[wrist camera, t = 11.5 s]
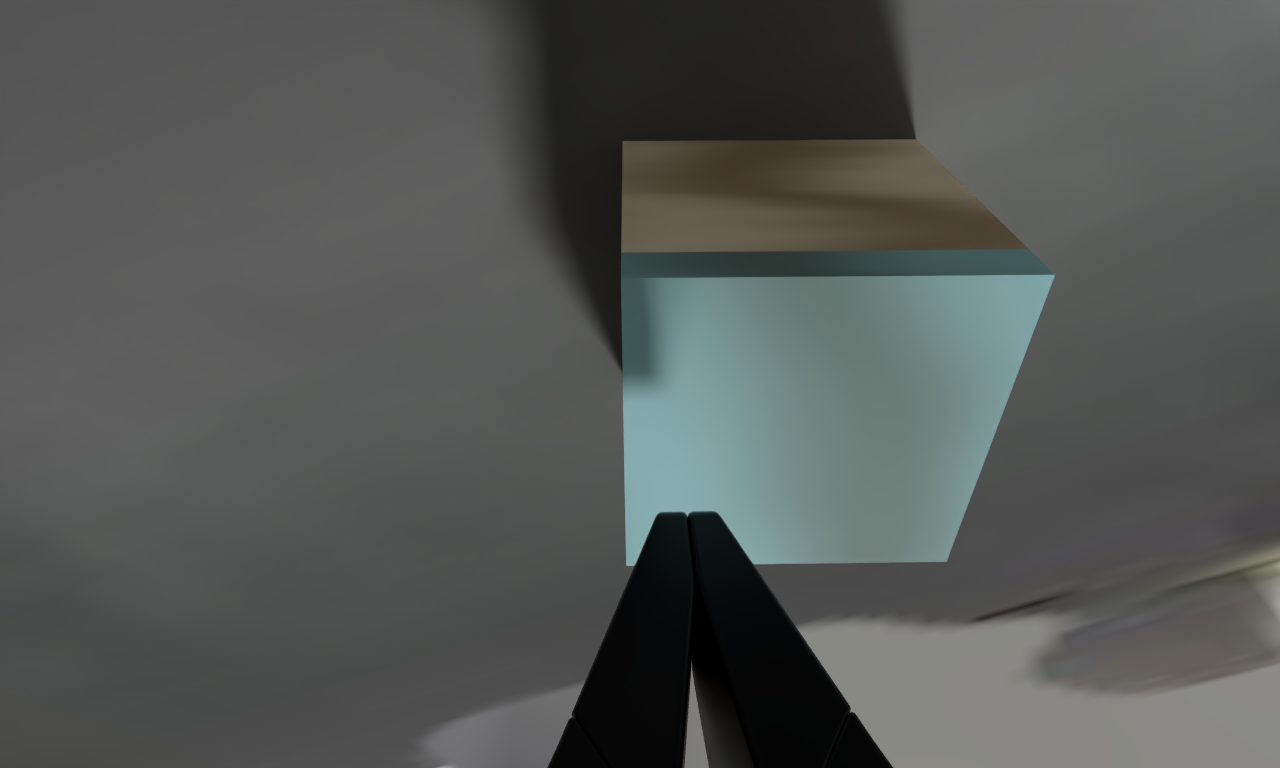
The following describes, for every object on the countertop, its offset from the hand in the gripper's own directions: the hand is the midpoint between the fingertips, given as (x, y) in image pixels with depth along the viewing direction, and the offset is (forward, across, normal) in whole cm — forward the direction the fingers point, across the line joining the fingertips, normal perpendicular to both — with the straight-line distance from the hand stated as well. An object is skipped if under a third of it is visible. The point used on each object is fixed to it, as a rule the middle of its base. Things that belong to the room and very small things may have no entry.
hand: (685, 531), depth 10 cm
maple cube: (+2, -2, 0) cm, 3 cm away
